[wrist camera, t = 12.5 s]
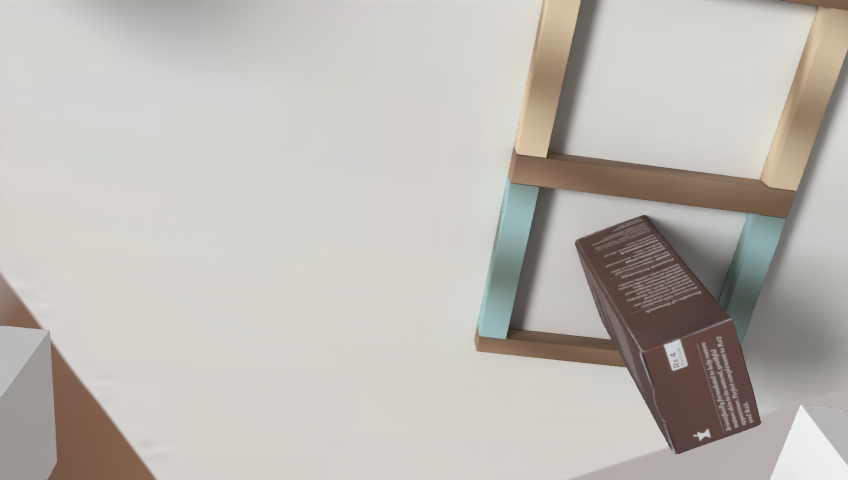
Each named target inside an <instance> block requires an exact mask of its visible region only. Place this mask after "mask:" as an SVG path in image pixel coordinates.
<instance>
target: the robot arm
mask: <svg viewBox="0 0 848 480" xmlns="http://www.w3.org/2000/svg"><path fill="white" fill-rule="evenodd" d="M56 463H57V453H56V435H55V418H54V400H53V382H52V365H51V347H50V330H40V329H30V328H20V327H9V326H1V327H0V480H47V479H48V477H49V475H50V474H51V472H52V470H53V468H54V466H55V465H56ZM770 480H848V417H847V415H846V414H845V413H844V412H843V411H842V410H841V408H832V407H822V406H812V405H802V404H801V405H800V408H799V410H798V413H797V415H796V417H795V420H794V423H793V425H792V427H791V430H790V432H789V435H788V437H787V440H786V442H785V444H784V447H783V450H782V452H781V454H780V457H779V459H778V462H777V464H776V466H775V469H774V472H773V474H772V476H771V479H770Z"/></svg>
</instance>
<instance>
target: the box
mask: <svg viewBox="0 0 848 480" xmlns="http://www.w3.org/2000/svg"><path fill="white" fill-rule="evenodd" d="M575 245H576V248H577V252H578V255H579V258H580V261H581V264H582V267H583V269H584V272H585V275H586V278H587V281H588V284H589V287H590V290H591V292H592V295H593V298H594V301H595V304H596V306H597V309H598V312H599V315H600V317H601V320H602V322H603V324H604V326H605V328H606V330H607V332H608V333H609V335H610V337H611V339H612V341H613V343H614V345H615V347H616V348H617V350H618V352H619V354H620V356H621V358H622V359H623V361H624V363H625V365H626V367H627V369H628V371H629V372H630V375H631V376H632V378H633V380H634V382H635V383H636V385H637V387H638V389H639V391H640V393H641V395H642V397H643V399H644V400H645V402H646V404H647V406H648V408H649V410H650V412H651V413H652V415H653V417H654V419H655V421H656V423H657V425H658V426H659V428H660V430H661V432H662V434H663V435H664V437H665V439H666V441H667V443H668V445H669V447H670V448H671V450H672V452H673V454H680V453H683V452H685V451H688V450H691V449H694V448H696V447H699V446H702V445H705V444H707V443H711V442H714V441H716V440H719V439H722V438H725V437H728V436H731V435H734V434H737V433H740V432H742V431H745V430H748V429H750V428H753V427H756V426H758V425H760V424H761V421H760V417H759V413H758V408H757V404H756V400H755V396H754V392H753V388H752V384H751V381H750V378H749V374H748V371H747V368H746V364H745V360H744V357H743V353H742V349H741V346H740V342H739V339H738V336H737V332H736V329H735V326H734V322H733V319H732V318H731V317H730V316H729V315H728V314H727V313H726V311H725V310H724V309H723V308H722V307H721V306H720V305H719V303H718V302H717V301H716V300H715V299H714V298H713V296H712V295H711V294H710V292H709V291H708V290H707V289H706V288H705V286H704V285H703V284H702V283H701V282H700V280H699V279H698V278H697V277H696V276H695V275H694V274H693V272H692V271H691V270H690V269H689V268H688V267H687V265H686V264H685V263H684V262H683V260H682V259H681V258H680V256H679V255H678V254H677V253H676V252H675V251H674V249H673V248H672V247H671V246H670V244H669V243H668V242H667V241H666V240H665V238H664V237H663V236H662V235H661V234H660V232H659V231H658V230H657V229H656V227H655V226H654V225H653V224H652V223H651V222H650V220H649V219H648V218H647V217H646V216H645V215H642V216H640V217H637V218H634V219H631V220H628V221H626V222H623V223H620V224H617V225H615V226H612V227H609V228H606V229H604V230H601V231H598V232H595V233H593V234H591V235H587V236H585V237H583V238H581V239H578V240H576V241H575Z"/></svg>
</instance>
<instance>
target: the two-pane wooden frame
mask: <svg viewBox="0 0 848 480" xmlns="http://www.w3.org/2000/svg"><path fill="white" fill-rule="evenodd" d="M782 1H789V2H795V3H801V4H808V5H814V6H819V7H818V10H817V13H816V16H815V19H814V22H813V24H812V27H811V30H810V33H809V36H808V39H807V42H806V45H805V48H804V51H803V54H802V57H801V60H800V63H799V66H798V69H797V72H796V75H795V78H794V80H793V83H792V86H791V89H790V92H789V95H788V98H787V101H786V104H785V107H784V110H783V113H782V116H781V119H780V122H779V125H778V128H777V131H776V134H775V136H774V139H773V142H772V145H771V148H770V151H769V154H768V157H767V160H766V163H765V166H764V169H763V172H762V175H761V178H760V180H754V179H746V178H739V177H731V176H724V175H716V174H709V173H701V172H694V171H686V170H679V169H671V168H663V167H656V166H648V165H641V164H633V163H626V162H618V161H611V160H603V159H596V158H588V157H580V156H573V155H565V154H558V153H550V152H547V151H548V147H549V142H550V138H551V133H552V129H553V124H554V120H555V115H556V111H557V106H558V102H559V97H560V93H561V88H562V84H563V79H564V75H565V70H566V66H567V61H568V57H569V52H570V48H571V43H572V38H573V34H574V29H575V25H576V20H577V16H578V11H579V7H580V2H581V0H544V1H543V6H542V11H541V16H540V21H539V26H538V31H537V35H536V40H535V45H534V50H533V55H532V60H531V65H530V70H529V75H528V80H527V85H526V90H525V94H524V99H523V104H522V109H521V114H520V119H519V124H518V129H517V134H516V139H515V144H514V148H513V153H512V158H511V163H510V168H509V173H508V175H509V176H508V178H507V183H506V188H505V193H504V198H503V203H502V207H501V212H500V217H499V222H498V227H497V232H496V237H495V242H494V247H493V252H492V257H491V262H490V266H489V271H488V276H487V281H486V286H485V291H484V296H483V301H482V306H481V311H480V316H479V320H478V325H477V330H476V335H475V345H476V351H479V352H488V353H498V354H507V355H516V356H526V357H535V358H544V359H554V360H563V361H572V362H582V363H591V364H601V365H610V366H619V367H626V365H625V363H624V361H623V359H622V358H621V356H620V354H619V352H618V350H617V348H616V347H615V345H614V343H613V341H612V340H607V339H598V338H589V337H580V336H571V335H562V334H553V333H544V332H535V331H526V330H516V329H508V327H509V323H510V318H511V314H512V309H513V305H514V300H515V295H516V291H517V286H518V282H519V277H520V273H521V268H522V264H523V259H524V255H525V250H526V246H527V241H528V237H529V232H530V228H531V223H532V219H533V214H534V210H535V205H536V201H537V196H538V192H539V186H542V187H550V188H557V189H565V190H573V191H581V192H589V193H596V194H604V195H612V196H620V197H628V198H635V199H643V200H651V201H659V202H667V203H674V204H682V205H690V206H698V207H706V208H713V209H721V210H729V211H737V212H745V213H748V216H747V219H746V222H745V225H744V228H743V231H742V234H741V237H740V240H739V243H738V246H737V248H736V251H735V254H734V257H733V260H732V263H731V266H730V269H729V272H728V275H727V278H726V281H725V284H724V287H723V290H722V293H721V296H720V299H719V302H718V303H719V305H720V306H721V307H722V308H723V309H724V310H725V311H726V313H727V314H728V315H729V316H730V317H731V318H732V319H733V322H734V326H735V329H736V332H737V336H738V339H739V342H740V346H741V343H742V341H743V338H744V335H745V332H746V330H747V327H748V324H749V321H750V318H751V316H752V313H753V310H754V307H755V305H756V302H757V299H758V296H759V294H760V291H761V288H762V285H763V282H764V280H765V277H766V274H767V271H768V269H769V266H770V263H771V260H772V258H773V255H774V252H775V249H776V247H777V244H778V241H779V238H780V235H781V233H782V230H783V227H784V224H785V222H786V218H787V216H788V213H789V211H790V208H791V205H792V202H793V199H794V197H795V194H796V191H797V188H798V186H799V183H800V180H801V177H802V175H803V172H804V169H805V166H806V163H807V161H808V158H809V155H810V152H811V150H812V147H813V144H814V141H815V139H816V136H817V133H818V130H819V127H820V125H821V122H822V119H823V116H824V114H825V111H826V108H827V105H828V103H829V100H830V97H831V94H832V91H833V89H834V86H835V83H836V80H837V78H838V75H839V72H840V69H841V67H842V64H843V61H844V58H845V55H846V53H847V50H848V0H782Z"/></svg>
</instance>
